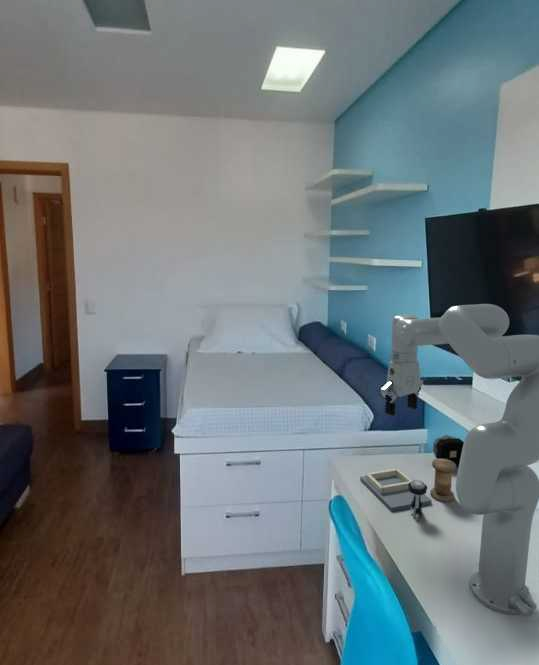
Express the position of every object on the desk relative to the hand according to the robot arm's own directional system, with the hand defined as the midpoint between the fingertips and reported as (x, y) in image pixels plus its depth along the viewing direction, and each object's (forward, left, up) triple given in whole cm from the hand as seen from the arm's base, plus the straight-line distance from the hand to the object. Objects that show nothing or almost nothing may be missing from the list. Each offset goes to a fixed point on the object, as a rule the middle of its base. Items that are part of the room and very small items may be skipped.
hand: (401, 410), depth 142 cm
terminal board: (+4, -1, -29) cm, 29 cm away
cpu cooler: (+15, -30, -29) cm, 44 cm away
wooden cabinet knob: (-3, -14, -29) cm, 32 cm away
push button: (-10, 0, -29) cm, 31 cm away
